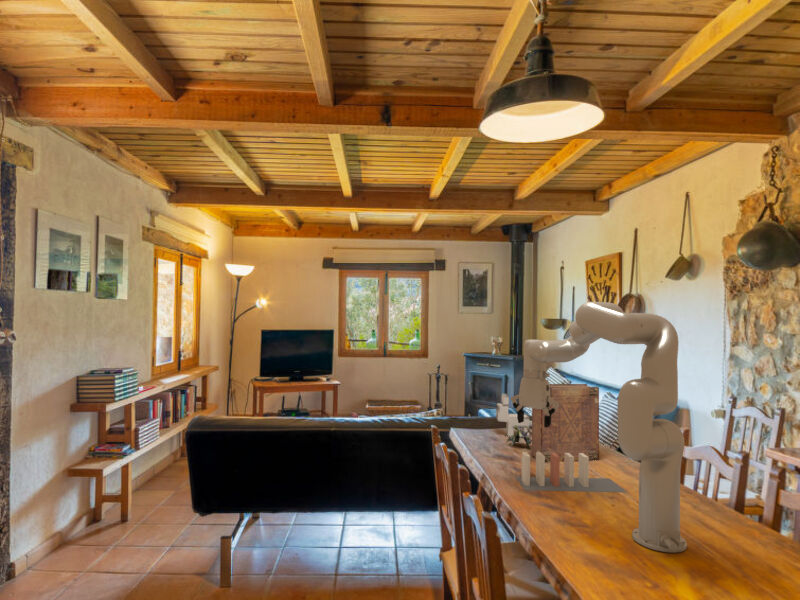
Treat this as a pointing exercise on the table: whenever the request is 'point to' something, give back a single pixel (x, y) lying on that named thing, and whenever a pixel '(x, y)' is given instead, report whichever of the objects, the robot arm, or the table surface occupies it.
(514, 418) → the toy llama
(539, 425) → the book
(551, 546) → the table surface
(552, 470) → the domino
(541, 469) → the domino
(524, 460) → the domino
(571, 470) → the domino
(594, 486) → the domino mat
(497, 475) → the table surface
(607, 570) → the table surface
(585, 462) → the domino
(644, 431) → the robot arm
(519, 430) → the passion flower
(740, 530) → the table surface
